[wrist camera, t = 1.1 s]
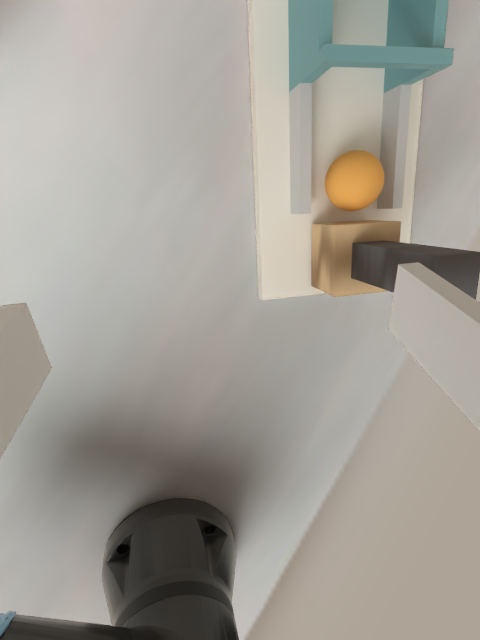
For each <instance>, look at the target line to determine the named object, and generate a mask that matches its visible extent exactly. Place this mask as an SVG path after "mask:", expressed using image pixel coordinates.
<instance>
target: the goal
mask: <svg viewBox="0 0 480 640" xmlns="http://www.w3.org/2000/svg"><path fill="white" fill-rule="evenodd" d="M447 10H448V0H389V4H388V22H387V40H386V46H372V45H346V44H332V32H333V0H288V28H289V92H290V91H292V90H293V89H294V88H295V87H296V86H297V85H298V84H299V83H313V82H314V81H315V80H316V79H318V78H319V77H320V76H321V75H322V74H324V73H325V72H326V71H327V70H329V69H330V68H331V67H357V68H385V75H384V93H385V92H387V91H389V90H391V89H393V88H395V87H397V86H399V85H401V84H402V85H412V84H414V83H416V82H418V81H420V80H422V79H424V78H426V77H428V76H430V75H432V74H434V73H436V72H438V71H440V70H442V69H444V68H446V67H448V66H450V65H452V59H453V49H451V48H444V42H445V31H446V21H447Z"/></svg>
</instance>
